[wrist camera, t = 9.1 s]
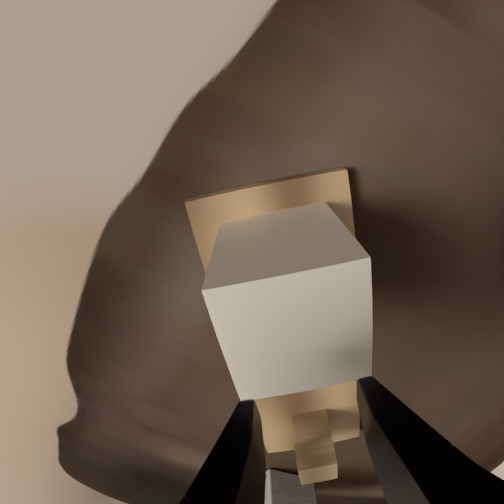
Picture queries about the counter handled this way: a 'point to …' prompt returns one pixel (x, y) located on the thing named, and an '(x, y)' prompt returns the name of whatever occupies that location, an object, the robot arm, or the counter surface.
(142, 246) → the counter surface
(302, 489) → the skincare box
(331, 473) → the stand
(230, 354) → the white rectangular block
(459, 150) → the counter surface
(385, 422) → the robot arm
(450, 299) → the counter surface
